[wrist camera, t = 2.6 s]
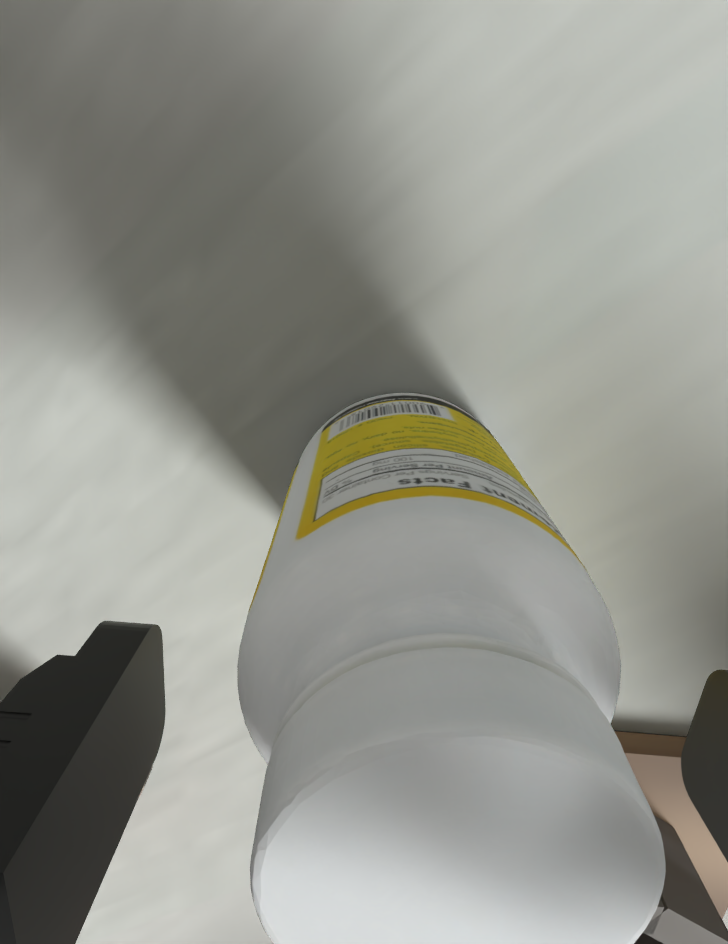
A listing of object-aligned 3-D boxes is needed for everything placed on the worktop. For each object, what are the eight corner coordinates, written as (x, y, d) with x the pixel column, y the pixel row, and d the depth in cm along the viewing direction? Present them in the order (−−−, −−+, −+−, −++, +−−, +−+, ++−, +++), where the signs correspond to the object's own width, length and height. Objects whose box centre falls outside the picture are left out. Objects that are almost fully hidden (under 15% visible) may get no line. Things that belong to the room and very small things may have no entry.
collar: (375, 711, 17) (375, 840, 13) (776, 744, 17) (886, 880, 14) (343, 966, 21) (337, 1117, 18) (665, 990, 22) (726, 1146, 18)
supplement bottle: (412, 620, 16) (463, 1115, 7) (252, 504, 15) (55, 917, 6) (555, 480, 14) (871, 878, 5) (390, 339, 13) (426, 535, 4)
